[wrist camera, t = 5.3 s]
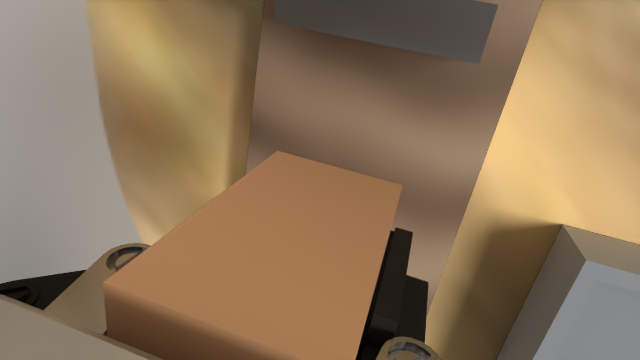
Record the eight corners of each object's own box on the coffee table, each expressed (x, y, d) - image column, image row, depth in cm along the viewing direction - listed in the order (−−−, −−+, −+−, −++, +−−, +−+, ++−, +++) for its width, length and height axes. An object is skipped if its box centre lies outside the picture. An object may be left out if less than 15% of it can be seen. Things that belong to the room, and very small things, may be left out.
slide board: (287, -95, 18) (239, -137, 14) (555, -57, 16) (602, -91, 12) (241, 289, 27) (203, 340, 23) (409, 348, 25) (403, 416, 21)
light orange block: (277, 150, 12) (102, 282, 6) (403, 185, 11) (350, 377, 5) (261, 276, 14) (118, 470, 8) (365, 313, 14) (297, 560, 7)
